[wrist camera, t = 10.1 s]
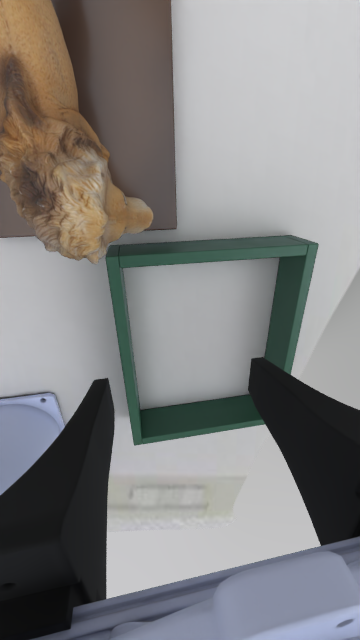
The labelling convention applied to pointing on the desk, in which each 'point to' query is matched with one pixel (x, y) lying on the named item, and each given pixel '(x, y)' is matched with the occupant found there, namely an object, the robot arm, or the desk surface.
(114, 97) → the stand
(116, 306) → the storage box
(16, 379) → the desk surface
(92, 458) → the robot arm
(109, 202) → the lion figurine
